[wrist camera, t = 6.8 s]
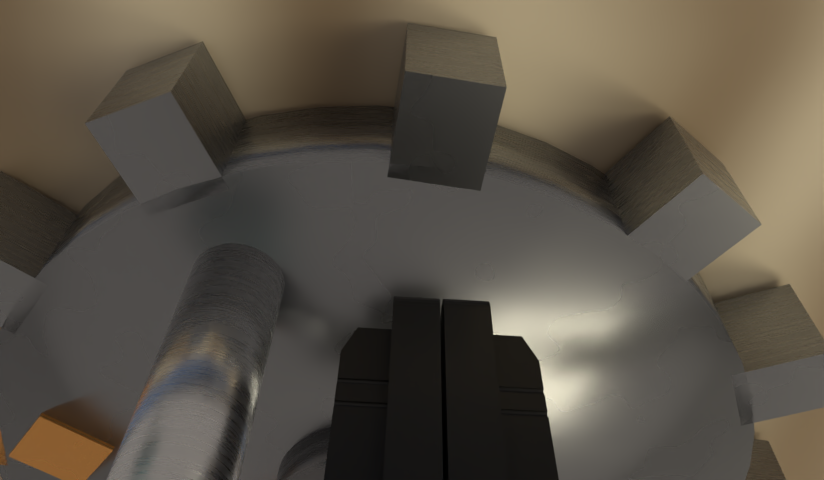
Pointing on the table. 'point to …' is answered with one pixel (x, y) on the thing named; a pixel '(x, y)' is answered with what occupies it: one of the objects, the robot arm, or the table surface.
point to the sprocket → (377, 281)
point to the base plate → (521, 110)
